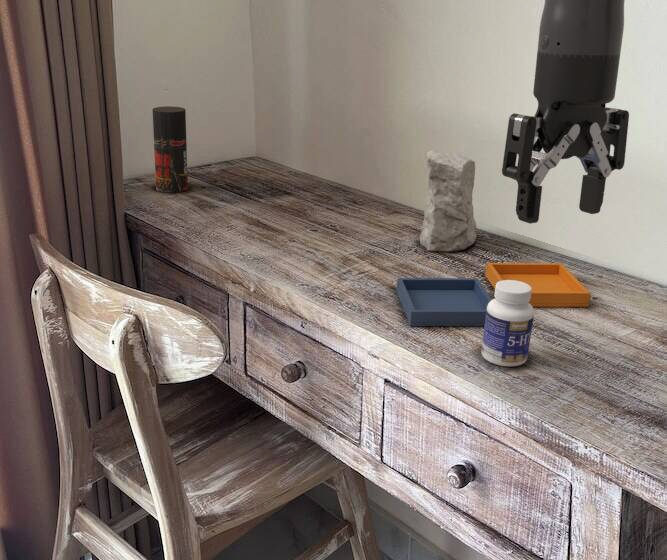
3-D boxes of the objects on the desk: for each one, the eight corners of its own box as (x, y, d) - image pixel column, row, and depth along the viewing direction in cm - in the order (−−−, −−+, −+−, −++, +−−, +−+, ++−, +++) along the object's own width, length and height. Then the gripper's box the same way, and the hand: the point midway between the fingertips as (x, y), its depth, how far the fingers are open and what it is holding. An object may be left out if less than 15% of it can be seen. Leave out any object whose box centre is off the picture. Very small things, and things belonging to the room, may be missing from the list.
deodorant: (156, 184, 157) (153, 106, 151) (187, 184, 158) (185, 106, 152) (155, 192, 152) (151, 112, 146) (187, 192, 153) (185, 112, 147)
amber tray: (588, 306, 109) (590, 293, 108) (506, 306, 108) (508, 292, 107) (560, 275, 119) (562, 263, 118) (485, 275, 118) (486, 262, 117)
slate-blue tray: (498, 326, 102) (500, 311, 101) (410, 326, 101) (411, 311, 100) (476, 291, 112) (478, 278, 112) (396, 291, 111) (397, 277, 111)
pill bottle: (509, 372, 91) (518, 299, 87) (471, 355, 94) (479, 284, 91) (536, 358, 94) (547, 287, 91) (499, 342, 98) (508, 274, 94)
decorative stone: (477, 255, 126) (487, 163, 121) (418, 251, 127) (425, 159, 122) (475, 235, 135) (484, 148, 130) (420, 230, 136) (427, 144, 131)
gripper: (552, 53, 70) (533, 235, 75) (662, 50, 77) (637, 217, 82) (493, 47, 76) (480, 216, 81) (600, 46, 83) (581, 201, 88)
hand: (559, 216), depth 82 cm, fingers open, 8 cm apart
